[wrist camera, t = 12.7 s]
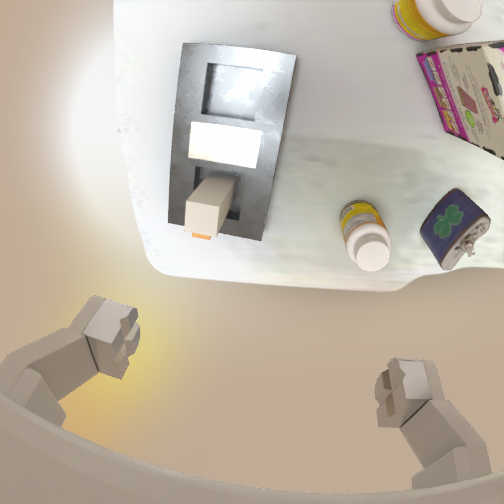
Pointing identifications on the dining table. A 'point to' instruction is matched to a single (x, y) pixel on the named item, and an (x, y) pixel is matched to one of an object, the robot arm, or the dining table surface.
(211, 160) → the panel
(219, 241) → the dining table surface
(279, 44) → the dining table surface
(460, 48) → the candy bar box
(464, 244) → the flask
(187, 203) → the plug
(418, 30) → the supplement bottle
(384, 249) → the supplement bottle
